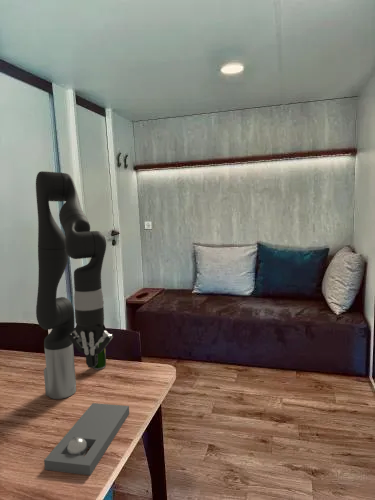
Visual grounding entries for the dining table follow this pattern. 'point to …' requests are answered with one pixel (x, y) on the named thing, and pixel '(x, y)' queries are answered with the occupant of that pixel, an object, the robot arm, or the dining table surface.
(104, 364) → the beer can
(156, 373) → the dining table surface
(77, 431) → the hole board
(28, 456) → the dining table surface
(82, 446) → the steel ball
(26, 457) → the dining table surface
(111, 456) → the dining table surface
